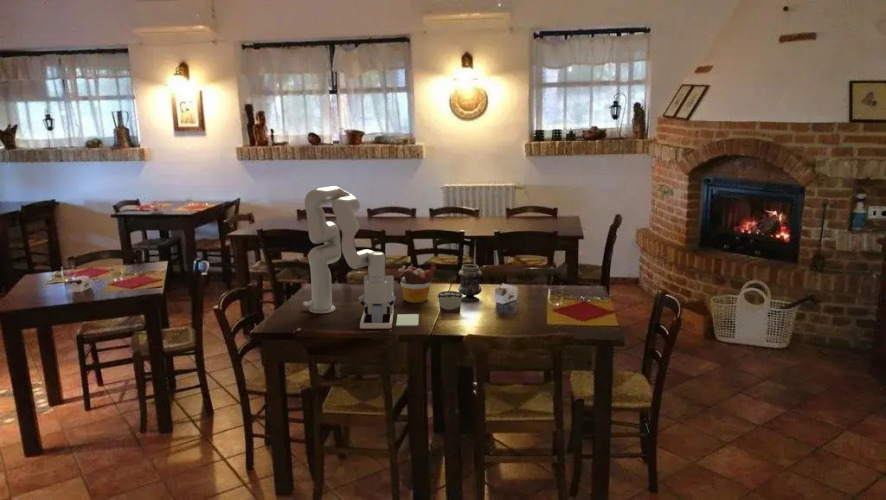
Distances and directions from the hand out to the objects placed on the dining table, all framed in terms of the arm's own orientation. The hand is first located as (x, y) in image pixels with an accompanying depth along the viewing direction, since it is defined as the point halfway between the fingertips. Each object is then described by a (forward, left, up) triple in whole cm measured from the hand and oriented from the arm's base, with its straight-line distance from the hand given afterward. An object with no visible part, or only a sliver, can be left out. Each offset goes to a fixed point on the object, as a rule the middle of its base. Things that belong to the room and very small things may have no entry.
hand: (377, 314), depth 315 cm
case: (0, +2, -3) cm, 3 cm away
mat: (+14, 0, -3) cm, 14 cm away
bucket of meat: (+18, +34, -3) cm, 39 cm away
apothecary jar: (+45, +34, -3) cm, 56 cm away
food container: (+34, +13, -3) cm, 36 cm away
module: (0, 0, -3) cm, 3 cm away
